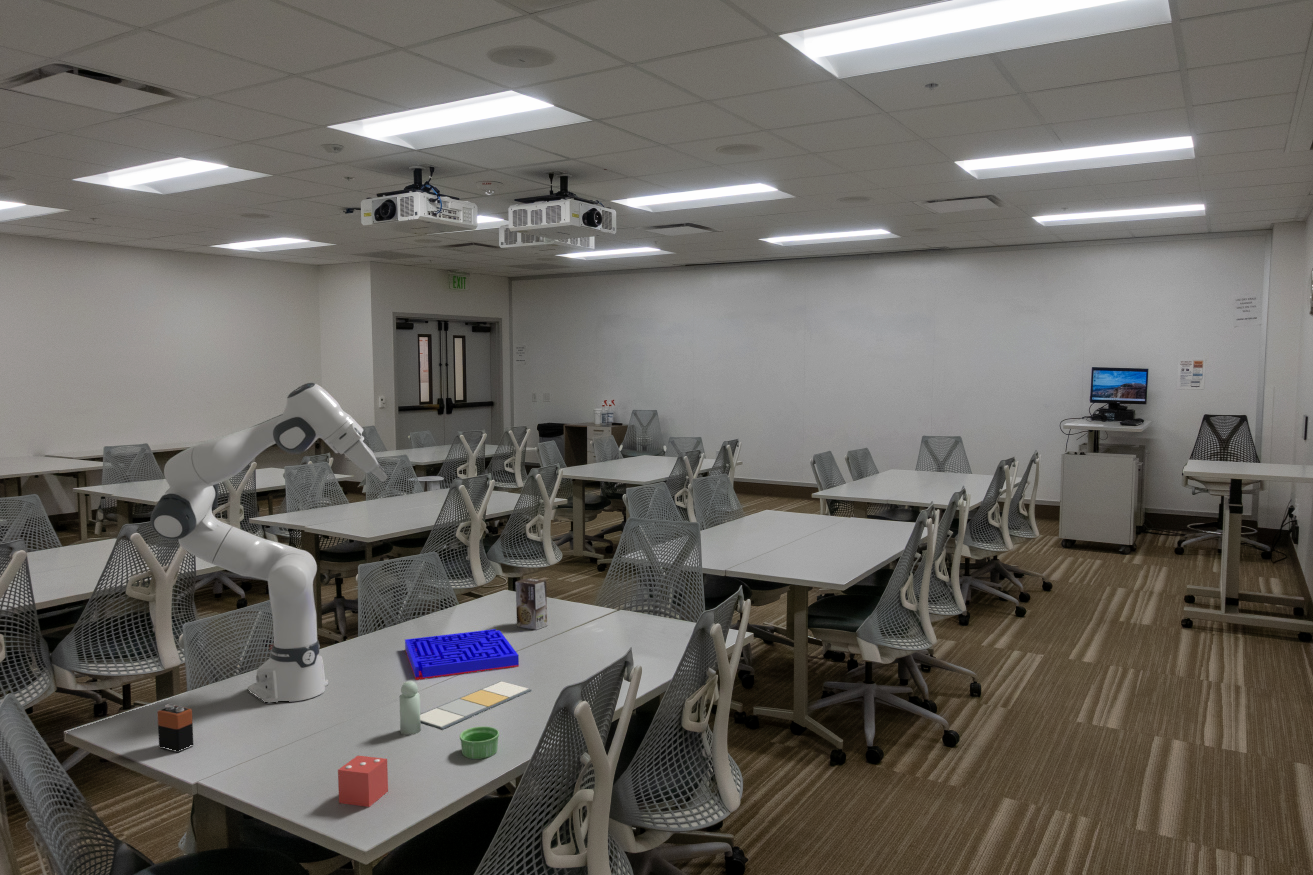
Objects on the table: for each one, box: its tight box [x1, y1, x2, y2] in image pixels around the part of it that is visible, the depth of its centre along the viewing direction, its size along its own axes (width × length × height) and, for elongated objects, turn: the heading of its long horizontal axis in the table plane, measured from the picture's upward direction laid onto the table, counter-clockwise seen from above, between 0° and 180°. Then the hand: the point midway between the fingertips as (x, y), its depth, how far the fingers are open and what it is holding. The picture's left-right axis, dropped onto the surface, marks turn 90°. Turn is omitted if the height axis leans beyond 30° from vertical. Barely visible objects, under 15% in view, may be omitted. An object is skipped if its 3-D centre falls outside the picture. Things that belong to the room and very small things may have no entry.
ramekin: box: [459, 726, 500, 760], centre depth 203 cm, size 9×9×4 cm
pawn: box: [399, 680, 422, 736], centre depth 215 cm, size 5×5×12 cm
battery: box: [156, 703, 194, 751], centre depth 207 cm, size 4×7×10 cm, turn 66°
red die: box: [337, 755, 389, 808], centre depth 181 cm, size 7×7×7 cm
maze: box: [404, 628, 520, 681], centre depth 271 cm, size 30×30×4 cm
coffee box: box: [515, 577, 548, 631], centre depth 305 cm, size 9×6×16 cm
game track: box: [420, 681, 532, 730], centre depth 232 cm, size 12×32×1 cm, turn 145°
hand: (383, 476), depth 223 cm, fingers open, 8 cm apart
